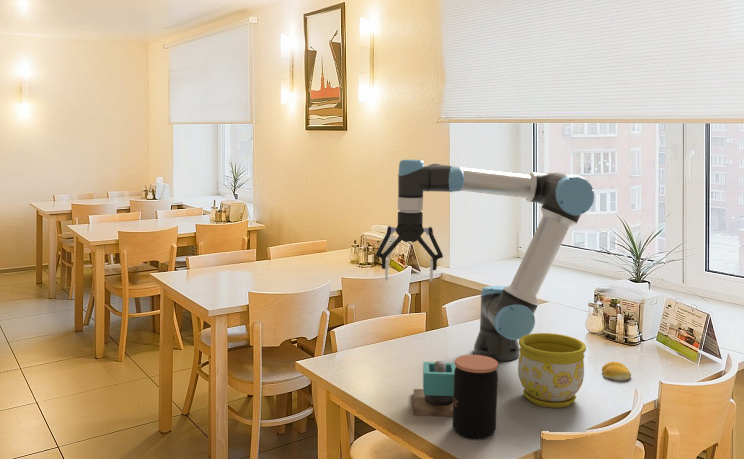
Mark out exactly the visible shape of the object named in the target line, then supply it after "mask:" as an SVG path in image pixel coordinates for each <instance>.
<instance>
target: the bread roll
mask: <svg viewBox="0 0 744 459" xmlns="http://www.w3.org/2000/svg"><path fill="white" fill-rule="evenodd" d="M601 372H602V374H603V376H604V378H606V379H608V378H609V379H608V380H611V379H613V381H616V380H617V381H619V382H624V381H627V379H628V380H630V379H631V378H632V377H631V376H632V373H631V371H630V369H629V368H628V367H627V366H626V365H625V364H623V363H621V362H618V361H610V362H607V363H605V364H603V366H602V367H601Z"/></svg>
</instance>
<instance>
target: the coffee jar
mask: <svg viewBox="0 0 744 459" xmlns="http://www.w3.org/2000/svg"><path fill="white" fill-rule="evenodd" d="M454 363H455V366H456V368H455V370H454V400H453V416H452V428H453V430H454V431H455V432H456V434H457V435H459V436H460V437H462V438H464V439H469V440H484V439H488V438H490V437H492V435H493V434H494V433H495V431H496V429H497V428H496V427H497V404H498V381H499V376H498V375H499V374H498V370H497V369H498V367H499V361H496V360H495V359H493V358H490V357H487V356H482V355H475V354H465V355H460V356H457V357H456V358H455V359H454Z"/></svg>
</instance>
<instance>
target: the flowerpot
mask: <svg viewBox="0 0 744 459" xmlns="http://www.w3.org/2000/svg"><path fill="white" fill-rule="evenodd" d="M518 345H519V348H520V354H519V357H518V363H517V373H518V375H517V376H518V379H519V381H520V385H521V386H522V387H523V391H522V393H523V395H524V396H525V397H526V399H527V400H528V401H529V402H531V403H533V404H534V405H538V406H540V407H544V408H553V409H555V408H556V409H557V408H558V409H559V408H566V407H568V406H570V405H571V404H572V403H573V402H574V401H576V399H577V396H576V395H577V393H578V392H579V391H580V389H581V387H582V385H583V382H584V379H585V378H584V377H585V362H584V358H585V354H584V353H585V352H586V350H587V346H586V344H585V343H584V342H583V341H582V340H580V339H578V338H576V337H571V336H569V335H565V334H559V333H551V332H550V333H547V332H536V333H530V334H529V335H525V336H523V337H521V338H520V339H519V340H518Z"/></svg>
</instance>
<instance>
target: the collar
mask: <svg viewBox="0 0 744 459" xmlns="http://www.w3.org/2000/svg"><path fill="white" fill-rule="evenodd" d="M435 362H436V361H423V364H422V365H423V366H422V370H423V371H422V389H423V395H434V396H454V370H455V368H456V366H455V362H446V372H435Z"/></svg>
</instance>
